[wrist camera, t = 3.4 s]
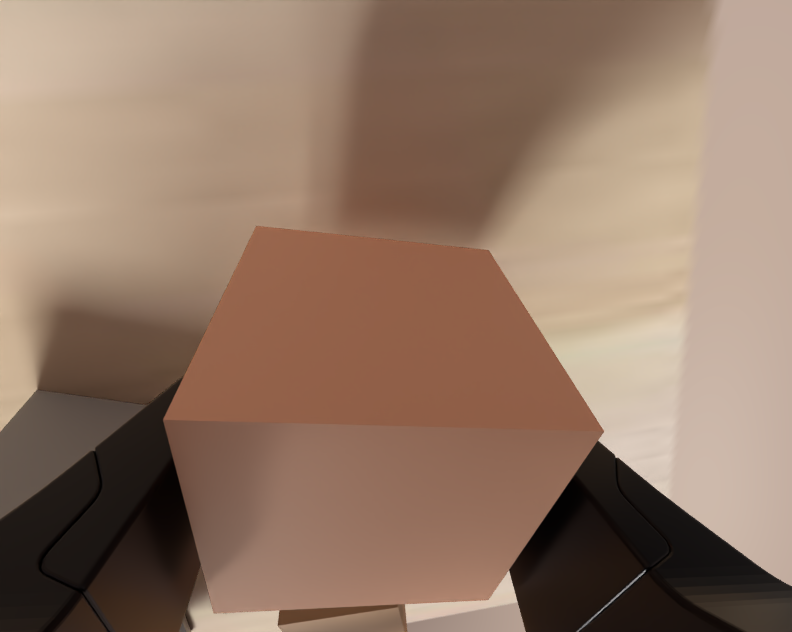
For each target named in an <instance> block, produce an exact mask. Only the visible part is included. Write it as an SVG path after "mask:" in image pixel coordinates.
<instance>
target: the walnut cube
mask: <svg viewBox="0 0 792 632" xmlns="http://www.w3.org/2000/svg"><path fill="white" fill-rule="evenodd" d="M278 627H279V628H280V629H281V630H282V632H407V624H406V613H405V604H396V605H376V606H356V607H336V608H315V609H295V610H280V611H279V619H278Z"/></svg>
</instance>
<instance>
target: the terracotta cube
mask: <svg viewBox="0 0 792 632" xmlns="http://www.w3.org/2000/svg"><path fill="white" fill-rule="evenodd" d="M163 422H164V426H165V429H166V433H167V437H168V441H169V445H170V448H171V452H172V456H173V460H174V464H175V468H176V471H177V475H178V479H179V483H180V487H181V490H182V494H183V498H184V502H185V506H186V510H187V513H188V517H189V521H190V525H191V529H192V532H193V536H194V540H195V544H196V548H197V552H198V555H199V559H200V563H201V567H202V571H203V574H204V578H205V582H206V586H207V590H208V593H209V597H210V601H211V605H212V609H213V613H234V612H254V611H275V610H295V609H315V608H336V607H356V606H376V605H396V604H417V603H437V602H457V601H477V600H489V598H490V597H491V595H492V594H493V592H494V591H495V589H496V588H497V587H498V585H499V584H500V582H501V581H502V579H503V578H504V576H505V575H506V573H507V572H508V571H509V569H510V568H511V566H512V565H513V563H514V562H515V560H516V559H517V557H518V556H519V554H520V553H521V552H522V550H523V549H524V547H525V546H526V544H527V543H528V541H529V540H530V538H531V537H532V536H533V534H534V533H535V531H536V530H537V528H538V527H539V525H540V524H541V522H542V521H543V520H544V518H545V517H546V515H547V514H548V512H549V511H550V509H551V508H552V506H553V505H554V504H555V502H556V501H557V499H558V498H559V496H560V495H561V493H562V492H563V490H564V489H565V488H566V486H567V485H568V483H569V482H570V480H571V479H572V477H573V476H574V474H575V473H576V472H577V470H578V469H579V467H580V466H581V464H582V463H583V461H584V460H585V458H586V457H587V456H588V454H589V453H590V451H591V450H592V448H593V447H594V445H595V444H596V442H597V441H598V440H599V438H600V437H601V435H602V434H603V432H604V431H603V429H602V427H601V426H600V424H599V423H598V421H597V420H596V418H595V416H594V415H593V413H592V412H591V410H590V409H589V407H588V405H587V404H586V402H585V401H584V399H583V398H582V396H581V394H580V393H579V391H578V390H577V388H576V387H575V385H574V383H573V382H572V380H571V379H570V377H569V376H568V374H567V373H566V371H565V369H564V368H563V366H562V365H561V363H560V362H559V360H558V358H557V357H556V355H555V354H554V352H553V351H552V349H551V347H550V346H549V344H548V343H547V341H546V340H545V338H544V336H543V335H542V333H541V332H540V330H539V329H538V327H537V325H536V324H535V322H534V321H533V319H532V318H531V316H530V314H529V313H528V311H527V310H526V308H525V307H524V305H523V304H522V302H521V300H520V299H519V297H518V296H517V294H516V293H515V291H514V289H513V288H512V286H511V285H510V283H509V282H508V280H507V278H506V277H505V275H504V274H503V272H502V271H501V269H500V267H499V266H498V264H497V263H496V261H495V260H494V258H493V256H492V255H491V253H490V252H489V250H481V249H472V248H462V247H452V246H443V245H433V244H424V243H414V242H405V241H395V240H386V239H376V238H366V237H357V236H347V235H338V234H328V233H319V232H309V231H300V230H290V229H280V228H271V227H261V226H256V228H255V230H254V232H253V234H252V236H251V238H250V240H249V242H248V244H247V246H246V248H245V251H244V253H243V255H242V257H241V259H240V261H239V263H238V265H237V267H236V269H235V271H234V273H233V275H232V278H231V280H230V282H229V284H228V286H227V288H226V290H225V292H224V294H223V296H222V298H221V300H220V303H219V305H218V307H217V309H216V311H215V313H214V315H213V317H212V319H211V321H210V323H209V325H208V327H207V330H206V332H205V334H204V336H203V338H202V340H201V342H200V344H199V346H198V348H197V350H196V352H195V354H194V357H193V359H192V361H191V363H190V365H189V367H188V369H187V371H186V373H185V375H184V377H183V379H182V381H181V384H180V386H179V388H178V390H177V392H176V394H175V396H174V398H173V400H172V402H171V404H170V406H169V408H168V411H167V413H166V415H165V417H164V419H163Z"/></svg>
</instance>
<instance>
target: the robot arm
mask: <svg viewBox="0 0 792 632" xmlns="http://www.w3.org/2000/svg"><path fill="white" fill-rule="evenodd" d="M183 377H184V376H182V377H181V378H180V379H179V380H177V381H176V382H175V383H174V384H172V385H171V386H170V387H169V388H168V389H166V390H165V391H164V392H163V393H161V394H160V395H159V396H158V397H156V398H155V399H154V400H153V401H151V402H150V403H149V404H148V405H146V406H145V407H144V408H143V409H141V410H140V411H139V412H138V413H137V414H135V415H134V416H133V417H132V418H130V419H129V420H128V421H127V422H125V423H124V424H123V425H122V426H120V427H119V428H118V429H117V430H115V431H114V432H113V433H112V434H110V435H109V436H108V437H107V438H105V439H104V440H103V441H102V442H101V443H99V444H98V445H97V446H96V447H95V448H94V450H95V451H93V450H91V451H89V452H88V453H87V454H85V455H84V456H83V457H82V458H80V459H79V460H78V461H77V462H75V463H74V464H73V465H72V466H70V467H69V468H68V469H67V470H65V471H64V472H63V473H61V474H60V475H59V476H58V477H56V478H55V479H54V480H52V481H51V482H50V483H48V484H47V485H46V486H45V487H43V488H42V489H41V490H39V491H38V492H37V493H35V494H34V495H33V496H31V497H30V498H28V499H27V500H26V501H24V502H23V503H21V504H20V505H19V506H17V507H16V508H14V509H13V510H12V511H10V512H9V513H7V514H6V515H5V516H3V517H2V518H1V519H0V632H191V630H190V628H189V625H188V622H187V620H186V617H185V613H186V609H187V606H188V603H189V600H190V597H191V594H192V591H193V588H194V585H195V581H196V578H197V575H198V572H199V569H200V566H201V563H200V559H199V555H198V552H197V548H196V544H195V540H194V536H193V532H192V529H191V525H190V521H189V517H188V513H187V510H186V506H185V502H184V498H183V494H182V490H181V487H180V483H179V479H178V475H177V471H176V468H175V464H174V460H173V456H172V452H171V448H170V445H169V441H168V437H167V433H166V429H165V426H164V422H163V419H164V417H165V415H166V413H167V411H168V408H169V406H170V404H171V402H172V400H173V398H174V396H175V394H176V392H177V390H178V388H179V386H180V384H181V381H182V379H183ZM509 571H510V575H511V579H512V583H513V586H514V590H515V594H516V597H517V601H518V605H519V608H520V612H521V616H522V619H523V623H524V627H525V631H526V632H792V586H790V585H788V584H786V583H784V582H782V581H781V580H779V579H777V578H776V577H774V576H772V575H771V574H769V573H768V572H766V571H765V570H763V569H762V568H761V567H759V566H758V565H756V564H755V563H754V562H752V561H751V560H750V559H748V558H747V557H746V556H744V555H743V554H742V553H740V552H739V551H738V550H736V549H735V548H734V547H732V546H731V545H730V544H728V543H727V542H726V541H724V540H723V539H721V538H720V537H719V536H717V535H716V534H715V533H713V532H712V531H711V530H709V529H708V528H707V527H705V526H704V525H703V524H701V523H700V522H699V521H697V520H696V519H695V518H693V517H692V516H690V515H689V514H688V513H686V512H685V511H684V510H683V509H681V508H680V507H679V506H677V505H676V504H675V503H674V502H672V501H671V500H670V499H668V498H667V497H666V496H664V495H663V494H662V493H660V492H659V491H658V490H657V489H655V488H654V487H653V486H652V485H651V484H649V483H648V482H647V481H646V480H644V479H643V478H642V477H641V476H639V475H638V474H637V473H636V472H635V471H633V470H632V469H631V468H630V467H629V466H627V465H626V464H625V463H624V462H623V461H622V460H620V459H619V458H615V455H614V454H613V453H612V452H611V451H610V450H608V449H607V448H606V447H605V446H604V445H602V444H601V443H600V442H599V441H597V442H596V444H595V445H594V447H593V448H592V450H591V451H590V453H589V454H588V456H587V457H586V458H585V460H584V461H583V463H582V464H581V466H580V467H579V469H578V470H577V472H576V473H575V474H574V476H573V477H572V479H571V480H570V482H569V483H568V485H567V486H566V488H565V489H564V490H563V492H562V493H561V495H560V496H559V498H558V499H557V501H556V502H555V504H554V505H553V506H552V508H551V509H550V511H549V512H548V514H547V515H546V517H545V518H544V520H543V521H542V522H541V524H540V525H539V527H538V528H537V530H536V531H535V533H534V534H533V536H532V537H531V538H530V540H529V541H528V543H527V544H526V546H525V547H524V549H523V550H522V552H521V553H520V554H519V556H518V557H517V559H516V560H515V562H514V563H513V565H512V566H511V568H510V569H509Z"/></svg>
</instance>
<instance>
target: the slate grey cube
mask: <svg viewBox="0 0 792 632" xmlns="http://www.w3.org/2000/svg"><path fill="white" fill-rule="evenodd" d="M145 406H146V405H143V404H135V403H128V402H121V401H114V400H107V399H99V398H92V397H85V396H78V395H71V394H63V393H56V392H49V391H42V390H37V391H36V392H35V393H34V394H33V395H32V396H31V397H30V399H29V400H28V401H27V402H26V403H25V404H24V405H23V407H22V408H21V409H20V410H19V411H18V412H17V413H16V415H15V416H14V417H13V418H12V419H11V420H10V421H9V423H8V424H7V425H6V426H5V427H4V428H3V429H2V431H1V432H0V519H1V518H2V517H3V516H5V515H6V514H7V513H9V512H10V511H12V510H13V509H14V508H16V507H17V506H19V505H20V504H21V503H23V502H24V501H26V500H27V499H28V498H30V497H31V496H33V495H34V494H35V493H37V492H38V491H39V490H41V489H42V488H43V487H45V486H46V485H47V484H48V483H50V482H51V481H52V480H54V479H55V478H56V477H58V476H59V475H60V474H61V473H63V472H64V471H65V470H67V469H68V468H69V467H70V466H72V465H73V464H74V463H75V462H77V461H78V460H79V459H80V458H82V457H83V456H84V455H85V454H87V453H88V452H89V451H91V450H93V451H95V450H94V448H95V447H96V446H97V445H98V444H99V443H101V442H102V441H103V440H104V439H105V438H107V437H108V436H109V435H110V434H112V433H113V432H114V431H115V430H117V429H118V428H119V427H120V426H122V425H123V424H124V423H125V422H127V421H128V420H129V419H130V418H132V417H133V416H134V415H135V414H137V413H138V412H139V411H140V410H141V409H143V408H144V407H145Z"/></svg>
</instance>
